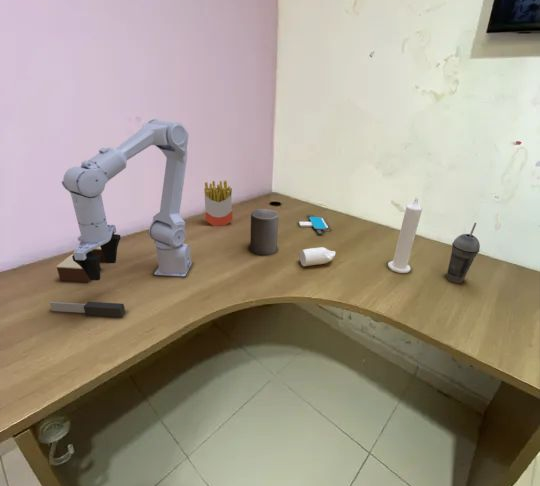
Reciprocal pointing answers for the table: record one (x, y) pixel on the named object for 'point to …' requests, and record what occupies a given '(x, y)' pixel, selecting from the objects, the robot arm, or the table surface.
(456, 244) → the beverage cup
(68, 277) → the cake
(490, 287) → the table surface
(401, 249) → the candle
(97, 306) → the knife
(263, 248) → the pillar candle
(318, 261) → the white bottle
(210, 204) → the french fries container
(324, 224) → the blue flat paddle
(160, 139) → the robot arm
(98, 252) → the cake slice
